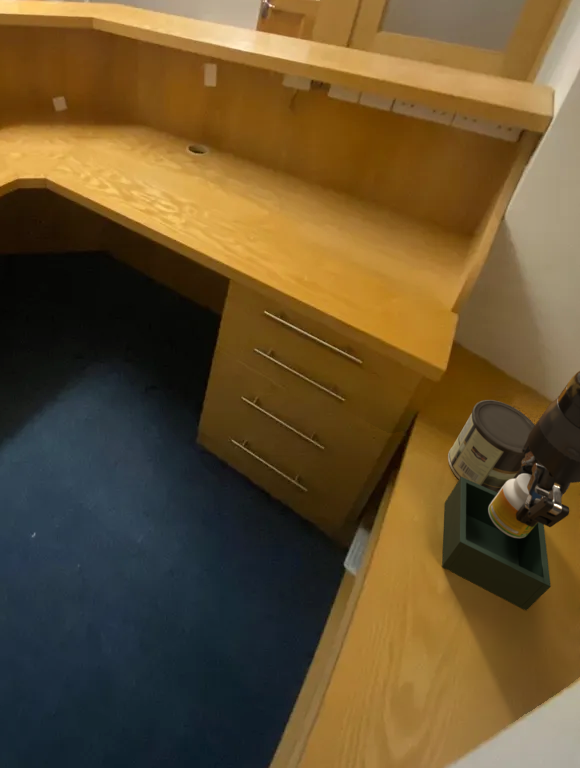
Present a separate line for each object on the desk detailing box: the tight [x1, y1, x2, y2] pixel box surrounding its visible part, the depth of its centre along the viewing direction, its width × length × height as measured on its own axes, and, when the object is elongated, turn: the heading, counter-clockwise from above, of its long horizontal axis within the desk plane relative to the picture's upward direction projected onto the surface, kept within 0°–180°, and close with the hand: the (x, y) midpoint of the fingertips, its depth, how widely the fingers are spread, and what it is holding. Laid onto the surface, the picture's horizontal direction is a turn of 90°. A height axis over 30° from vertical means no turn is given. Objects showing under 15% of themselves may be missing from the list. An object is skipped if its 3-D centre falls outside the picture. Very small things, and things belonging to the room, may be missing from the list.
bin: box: [441, 477, 552, 611], centre depth 83 cm, size 12×12×9 cm
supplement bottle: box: [488, 473, 550, 538], centre depth 77 cm, size 5×5×10 cm
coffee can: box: [447, 399, 536, 493], centre depth 93 cm, size 10×10×14 cm
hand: (522, 502), depth 76 cm, fingers closed on supplement bottle, 5 cm apart
